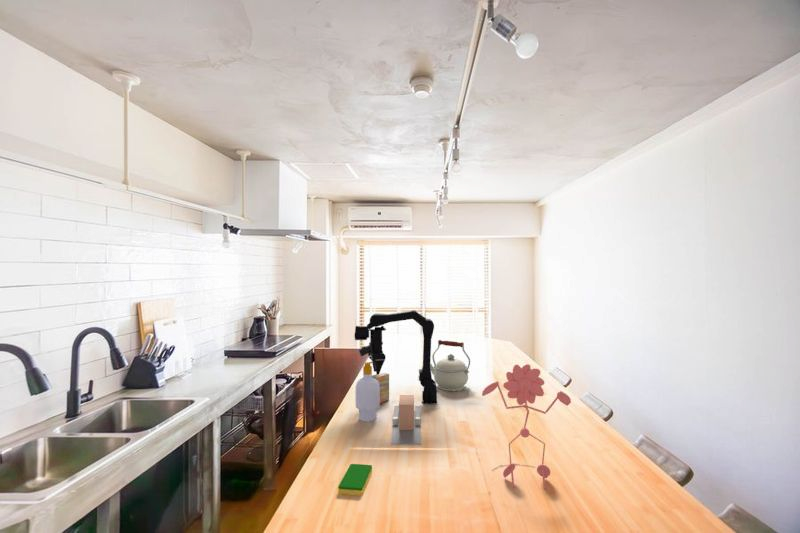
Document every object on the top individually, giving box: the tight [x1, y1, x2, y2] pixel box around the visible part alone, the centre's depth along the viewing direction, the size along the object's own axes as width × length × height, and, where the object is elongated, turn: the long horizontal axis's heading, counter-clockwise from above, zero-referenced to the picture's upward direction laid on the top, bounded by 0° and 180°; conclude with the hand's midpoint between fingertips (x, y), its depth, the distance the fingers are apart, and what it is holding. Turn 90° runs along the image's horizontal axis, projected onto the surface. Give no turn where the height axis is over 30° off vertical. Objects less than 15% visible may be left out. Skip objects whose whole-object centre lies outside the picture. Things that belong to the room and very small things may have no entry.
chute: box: [390, 405, 423, 446], centre depth 162 cm, size 11×34×3 cm, turn 178°
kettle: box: [430, 339, 471, 392], centre depth 216 cm, size 25×18×25 cm
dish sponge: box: [337, 463, 373, 496], centre depth 121 cm, size 7×14×2 cm, turn 171°
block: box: [398, 394, 415, 430], centre depth 164 cm, size 6×12×10 cm, turn 178°
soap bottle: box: [355, 361, 381, 422], centre depth 171 cm, size 10×10×24 cm
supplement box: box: [372, 372, 390, 404], centre depth 193 cm, size 8×5×13 cm, turn 143°
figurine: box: [481, 363, 572, 490], centre depth 124 cm, size 15×26×35 cm, turn 84°
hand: (376, 373), depth 191 cm, fingers open, 9 cm apart
